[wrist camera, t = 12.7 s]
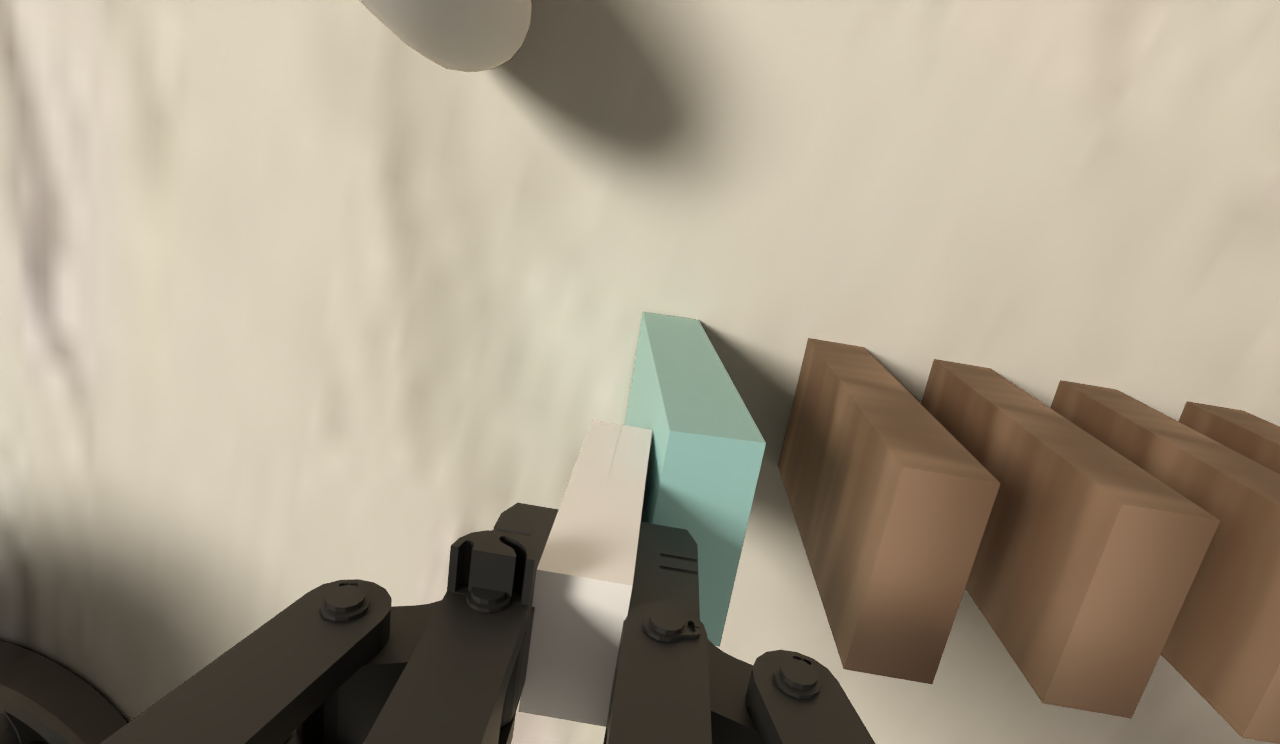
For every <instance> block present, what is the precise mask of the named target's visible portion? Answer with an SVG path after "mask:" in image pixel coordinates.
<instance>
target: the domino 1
mask: <svg viewBox="0 0 1280 744" xmlns="http://www.w3.org/2000/svg"><path fill="white" fill-rule="evenodd" d="M778 467H779V470H780V473H781V476H782V479H783V482H784V486H785V489H786V492H787V495H788V498H789V501H790V504H791V507H792V510H793V513H794V516H795V520H796V523H797V526H798V529H799V532H800V535H801V538H802V541H803V544H804V547H805V550H806V554H807V557H808V560H809V563H810V566H811V569H812V572H813V575H814V578H815V581H816V584H817V588H818V591H819V594H820V597H821V600H822V603H823V606H824V609H825V612H826V615H827V618H828V622H829V625H830V628H831V631H832V634H833V637H834V640H835V643H836V646H837V649H838V652H839V656H840V659H841V662H842V665H843V668H844V669H847V670H852V671H858V672H864V673H870V674H876V675H882V676H887V677H893V678H899V679H905V680H911V681H917V682H923V683H928V684H932V683H933V680H934V677H935V675H936V672H937V669H938V666H939V663H940V660H941V657H942V654H943V651H944V648H945V645H946V642H947V639H948V636H949V633H950V630H951V628H952V625H953V622H954V619H955V616H956V613H957V610H958V607H959V604H960V601H961V598H962V595H963V592H964V589H965V586H966V584H967V581H968V578H969V575H970V572H971V569H972V566H973V563H974V560H975V557H976V554H977V551H978V548H979V545H980V542H981V540H982V537H983V534H984V531H985V528H986V525H987V522H988V519H989V516H990V513H991V510H992V507H993V504H994V501H995V498H996V495H997V493H998V490H999V487H1000V484H1001V483H1000V482H999V481H998V480H997V479H996V478H995V477H994V476H993V475H992V474H991V473H990V472H989V471H988V470H987V469H986V468H985V467H984V466H983V465H982V464H981V463H980V462H979V461H978V460H977V459H976V458H975V457H974V456H973V455H972V454H971V453H970V452H969V451H968V450H967V449H966V448H965V447H964V446H962V445H961V444H960V443H959V442H958V441H957V440H956V439H955V438H954V437H953V436H952V435H951V434H950V433H949V432H948V431H947V430H946V429H945V428H944V427H943V426H942V425H941V424H940V423H939V422H938V421H937V420H936V419H935V418H934V417H933V416H932V415H931V414H930V413H929V412H928V411H927V410H926V409H925V408H924V407H923V406H922V405H921V404H920V403H919V402H918V401H917V400H916V399H915V398H914V397H913V396H912V395H911V394H910V393H909V392H908V391H907V390H906V389H905V388H904V387H903V386H902V385H901V384H900V383H899V382H898V381H897V380H896V379H895V378H894V377H893V376H892V375H891V374H890V373H889V372H888V371H887V370H886V369H885V368H884V367H883V366H882V365H881V364H880V363H879V362H878V361H877V360H876V359H875V358H874V357H873V356H872V355H871V354H870V353H869V352H868V351H867V350H866V349H865V348H864V347H858V346H852V345H846V344H840V343H834V342H828V341H822V340H816V339H811V338H808V342H807V346H806V350H805V355H804V359H803V363H802V367H801V371H800V376H799V380H798V384H797V388H796V393H795V397H794V401H793V405H792V410H791V414H790V418H789V422H788V427H787V431H786V435H785V439H784V444H783V448H782V452H781V456H780V460H779V465H778Z"/></svg>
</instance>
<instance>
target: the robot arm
mask: <svg viewBox="0 0 1280 744" xmlns="http://www.w3.org/2000/svg"><path fill="white" fill-rule="evenodd" d="M651 434H652V430H650V429H644V428H638V427H632V426H626V425H620V424H614V423H608V422H602V421H596V420H591V423H590V425H589V428H588V431H587V434H586V436H585V439H584V442H583V444H582V447H581V450H580V453H579V455H578V458H577V461H576V464H575V466H574V469H573V472H572V475H571V477H570V480H569V483H568V485H567V488H566V491H565V494H564V496H563V499H562V502H561V505H560V507H559V510H557V509H551V508H545V507H539V506H534V505H528V504H522V503H517V504H515V505H513V506H512V507H510V508H509V509H507V510H506V511H504V512H503V513H501V515H500V517H499V519H498V521H497V523H496V524H495V526H494V530H492V531H481V532H474V533H470V534H468V535H465V536H463V537H461V538H459V539H458V540H457V541H456V542H455V543H453V544H452V545H451V551H450V563H449V575H448V587H447V592H446V594H445V596H444V598H443V600H441V601H438V602H434V603H431V604H425V605H417V606H398V607H391V597H390V595H389V594H388V592H387V591H386V589H384V588H383V587H381V586H379V585H377V584H375V583H373V582H368V581H363V580H339V581H335V582H331V583H327V584H323V585H321V586H319V587H317V588H315V589H314V590H312V591H310V592H308V593H307V594H305V595H304V596H302V597H301V598H300V599H298V600H297V601H296V602H294V603H293V604H291V605H290V606H289V607H287V608H286V609H285V610H283V611H282V612H280V613H279V614H278V615H276V616H275V617H274V618H272V619H271V620H269V621H268V622H267V623H265V624H264V625H263V626H261V627H260V628H258V629H257V630H256V631H254V632H253V633H252V634H250V635H249V636H247V637H246V638H245V639H243V640H242V641H240V642H239V643H238V644H236V645H235V646H234V647H232V648H231V649H229V650H228V651H227V652H225V653H224V654H223V655H221V656H220V657H218V658H217V659H216V660H214V661H213V662H212V663H210V664H209V665H207V666H206V667H205V668H203V669H202V670H201V671H199V672H198V673H196V674H195V675H194V676H192V677H191V678H190V679H188V680H187V681H185V682H184V683H183V684H181V685H180V686H178V687H177V688H176V689H174V690H173V691H172V692H170V693H169V694H167V695H166V696H165V697H163V698H162V699H161V700H159V701H158V702H156V703H155V704H154V705H152V706H151V707H150V708H148V709H147V710H145V711H144V712H143V713H141V714H140V715H139V716H137V717H136V718H134V719H133V720H132V721H130V722H129V723H127V722H126V721H125V719H124V718H123V717H122V716H121V715H120V713H119V712H118V711H117V710H116V709H115V708H114V707H113V706H112V705H111V704H110V703H109V702H108V701H107V700H106V699H105V698H104V697H103V696H102V695H101V694H99V693H98V692H97V691H96V690H95V689H93V688H92V687H91V686H90V685H89V684H87V683H86V682H85V681H83V680H82V679H81V678H79V677H78V676H76V675H75V674H73V673H72V672H70V671H69V670H67V669H65V668H64V667H62V666H60V665H59V664H57V663H55V662H53V661H51V660H49V659H47V658H45V657H43V656H41V655H39V654H37V653H34V652H32V651H30V650H27V649H25V648H22V647H19V646H16V645H13V644H10V643H7V642H4V641H0V744H511V741H512V737H513V730H514V722H515V714H516V709H517V706H518V703H519V700H520V706H519V712H525V713H530V714H536V715H542V716H548V717H553V718H559V719H565V720H571V721H576V722H582V723H588V724H594V725H600V726H605V727H606V732H605V738H604V744H875V742H874V741H873V739H872V737H871V736H870V734H869V732H868V731H867V729H866V727H865V726H864V724H863V722H862V721H861V719H860V717H859V716H858V714H857V712H856V711H855V709H854V707H853V706H852V704H851V702H850V701H849V699H848V697H847V696H846V694H845V692H844V691H843V689H842V687H841V685H840V684H839V682H838V681H837V679H836V678H835V677H834V676H833V675H832V673H831V672H830V671H829V670H828V669H827V668H826V667H824V666H823V665H821V664H820V663H819V662H817V661H816V660H814V659H813V658H810V657H807V656H805V655H802V654H800V653H797V652H792V651H785V650H777V651H770V652H766V653H764V654H763V655H761V656H760V657H758V658H757V659H756V661H755V663H754V666H753V665H751V664H748V663H746V662H743V661H741V660H738V659H736V658H734V657H732V656H730V655H728V654H726V653H724V652H723V651H721V650H720V649H719V648H717V647H716V646H714V645H713V644H712V642H711V641H710V640H709V639H708V638H707V633H706V630H705V627H704V624H703V623H702V622H701V621H700V607H699V576H698V545H697V543H696V542H695V540H694V539H693V537H692V536H691V535H690V533H689V532H688V530H686V529H680V528H675V527H669V526H663V525H657V524H651V523H645V522H641V514H642V506H643V498H644V490H645V482H646V474H647V466H648V458H649V450H650V442H651ZM520 697H521V698H520Z"/></svg>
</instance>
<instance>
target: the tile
mask: <svg viewBox="0 0 1280 744" xmlns="http://www.w3.org/2000/svg"><path fill="white" fill-rule="evenodd" d="M625 425H626V426H632V427H638V428H644V429H650V430H652V434H651V442H650V450H649V458H648V466H647V474H646V482H645V490H644V498H643V506H642V514H641V522H645V523H651V524H657V525H663V526H669V527H675V528H680V529H686V530H688V532H689V533H690V535H691V536H692V537H693V539H694V540H695V542H696V543H697V545H698V576H699V607H700V621H701V622H702V623H703V624H704V627H705V630H706V633H707V638H708V639H709V640H710V641H711V642H712V644H713V645H714V646H720V643H721V638H722V634H723V630H724V625H725V621H726V616H727V612H728V608H729V603H730V599H731V594H732V590H733V586H734V581H735V577H736V573H737V568H738V564H739V559H740V555H741V551H742V546H743V542H744V537H745V533H746V529H747V524H748V520H749V515H750V511H751V507H752V502H753V498H754V494H755V489H756V485H757V480H758V476H759V472H760V467H761V463H762V458H763V454H764V450H765V445H766V442H765V440H764V439H763V437H762V435H761V433H760V431H759V429H758V428H757V426H756V424H755V422H754V420H753V418H752V417H751V415H750V413H749V411H748V409H747V407H746V406H745V404H744V402H743V400H742V398H741V397H740V395H739V393H738V391H737V389H736V387H735V386H734V384H733V382H732V380H731V378H730V376H729V375H728V373H727V371H726V369H725V367H724V365H723V364H722V362H721V360H720V358H719V356H718V355H717V353H716V351H715V349H714V347H713V345H712V344H711V342H710V340H709V338H708V336H707V334H706V333H705V331H704V329H703V327H702V325H701V323H700V322H699V320H696V319H689V318H682V317H675V316H668V315H661V314H654V313H648V312H643V314H642V321H641V327H640V333H639V339H638V345H637V351H636V358H635V364H634V370H633V376H632V382H631V388H630V394H629V401H628V407H627V413H626V419H625Z"/></svg>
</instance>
